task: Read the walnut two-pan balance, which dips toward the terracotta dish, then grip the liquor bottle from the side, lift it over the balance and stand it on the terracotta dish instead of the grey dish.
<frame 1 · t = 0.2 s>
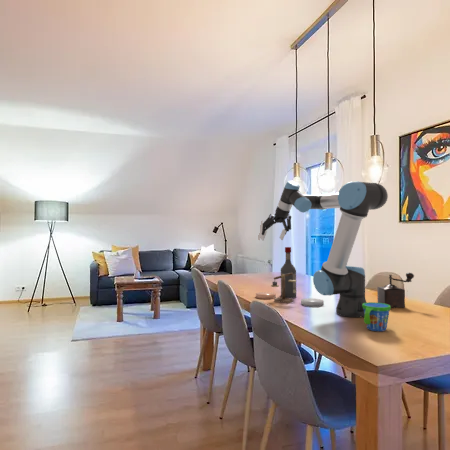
hand: (271, 239, 210), 35 cm above the table, tool tilted 35°, fingers open, 13 cm apart
liquor: (288, 296, 218), on the table
snack cup: (376, 330, 147), on the table
balance: (283, 301, 204), on the table
grey dish: (312, 304, 196), on the table
terracotta dish: (265, 297, 217), on the table
manual coffee grinder: (395, 306, 190), on the table
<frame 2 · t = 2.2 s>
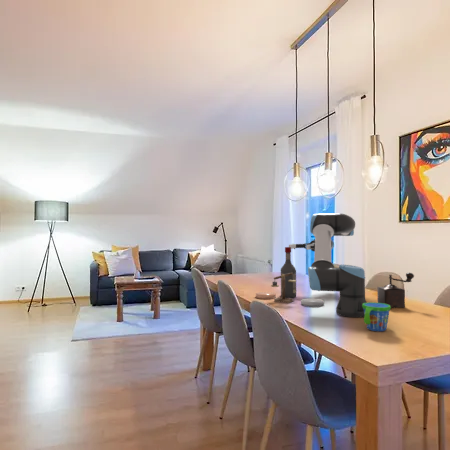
hand: (297, 247, 225), 30 cm above the table, tool horizontal, fingers open, 13 cm apart
nothing on the table moved.
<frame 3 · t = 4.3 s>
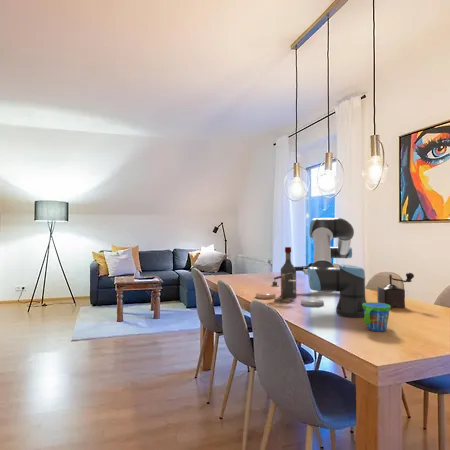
hand: (295, 270, 224), 15 cm above the table, tool horizontal, fingers open, 13 cm apart
nothing on the table moved.
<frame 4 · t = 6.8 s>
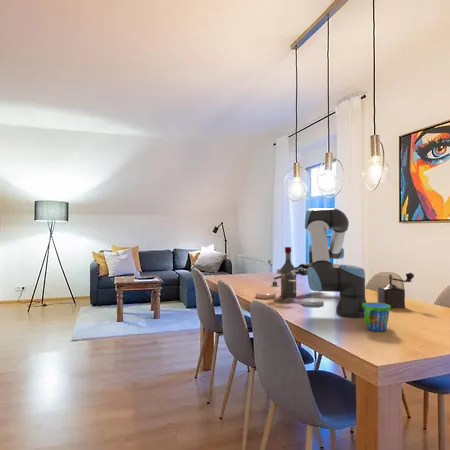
hand: (283, 272, 216), 15 cm above the table, tool horizontal, fingers closed on liquor, 10 cm apart
liquor: (288, 296, 218), on the table, touching gripper
everything else where it was.
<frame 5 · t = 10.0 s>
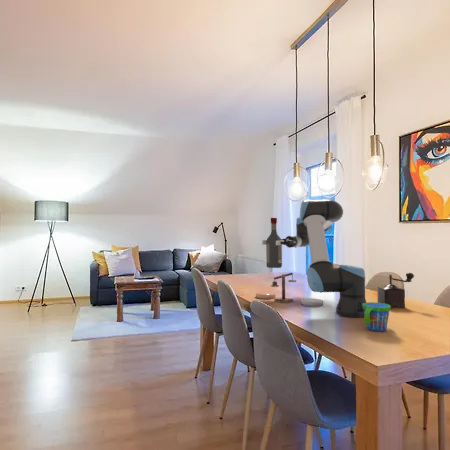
hand: (269, 242, 216), 33 cm above the table, tool horizontal, fingers closed on liquor, 10 cm apart
liquor: (274, 267, 219), point 18 cm above the table, touching gripper
everything else where it was.
when the fingers open (18 cm above the table, at t = 13.7 s): liquor drops 1 cm, resting on terracotta dish.
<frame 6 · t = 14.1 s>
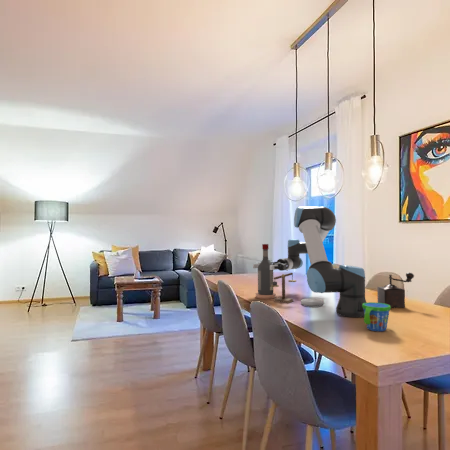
hand: (261, 266, 215), 18 cm above the table, tool horizontal, fingers open, 13 cm apart
liquor: (265, 294, 217), point 2 cm above the table, touching terracotta dish
everything else where it was.
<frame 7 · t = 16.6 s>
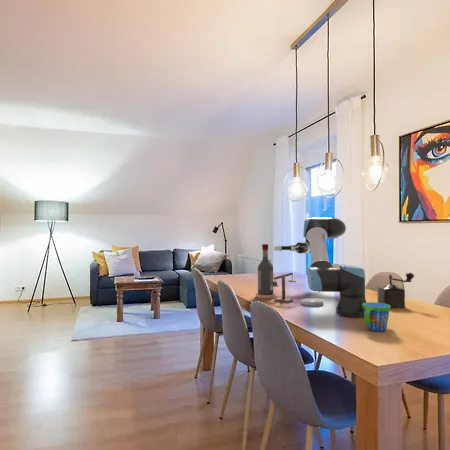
hand: (282, 248, 227), 29 cm above the table, tool horizontal, fingers open, 13 cm apart
nothing on the table moved.
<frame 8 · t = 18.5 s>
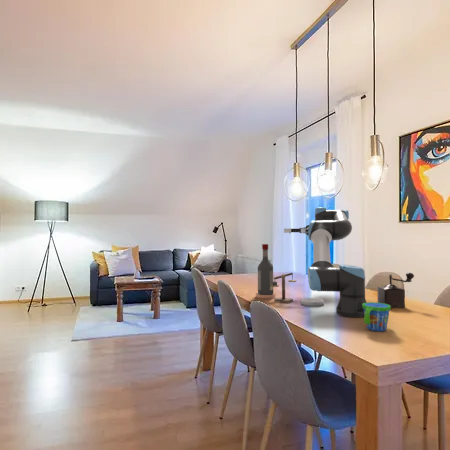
hand: (292, 230, 227), 40 cm above the table, tool horizontal, fingers open, 13 cm apart
nothing on the table moved.
at the end: liquor 0.1 cm off-centre on the terracotta dish, point 1.8 cm above the terracotta dish's base; liquor tilted 0°; the gripper is holding nothing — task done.
